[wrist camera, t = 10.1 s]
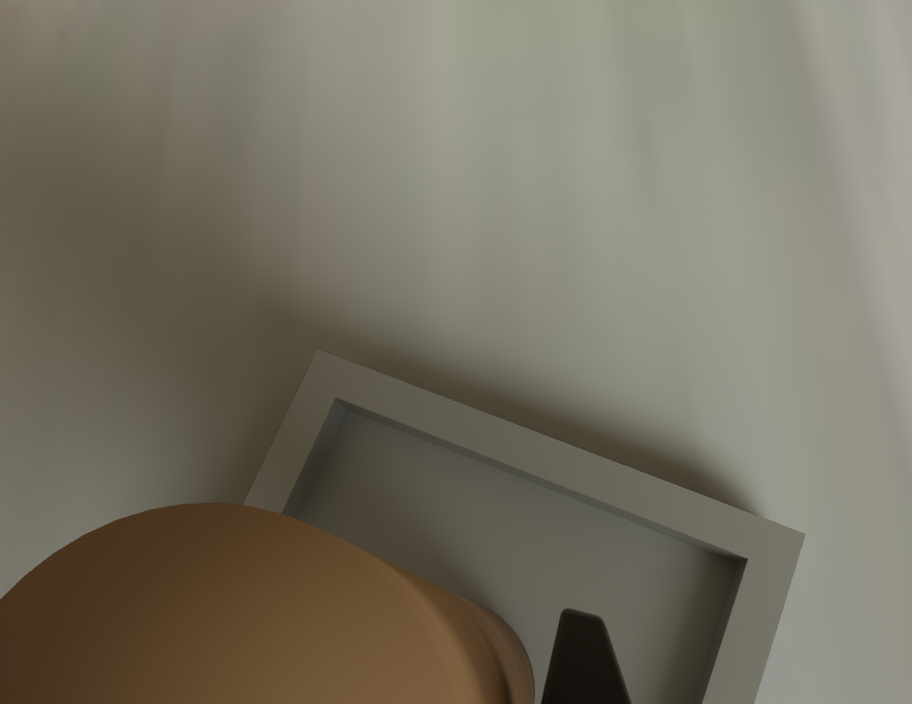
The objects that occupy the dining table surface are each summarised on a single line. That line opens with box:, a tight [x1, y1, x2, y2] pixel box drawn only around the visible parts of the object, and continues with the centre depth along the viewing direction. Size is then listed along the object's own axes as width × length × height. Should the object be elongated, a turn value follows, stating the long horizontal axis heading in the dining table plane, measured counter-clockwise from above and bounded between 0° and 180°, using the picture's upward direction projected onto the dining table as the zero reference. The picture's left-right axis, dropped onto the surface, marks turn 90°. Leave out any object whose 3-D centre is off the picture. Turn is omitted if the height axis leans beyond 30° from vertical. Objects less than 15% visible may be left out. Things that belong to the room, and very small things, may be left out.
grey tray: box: [243, 349, 805, 704], centre depth 17 cm, size 10×10×2 cm
